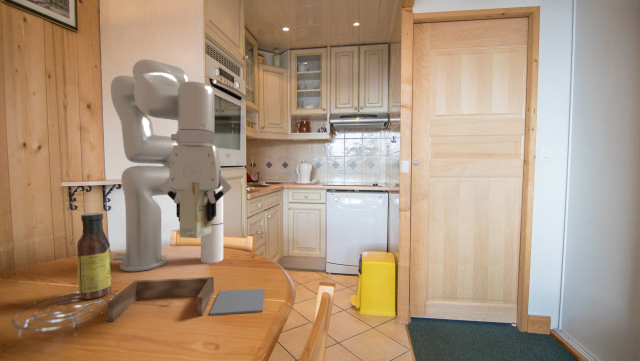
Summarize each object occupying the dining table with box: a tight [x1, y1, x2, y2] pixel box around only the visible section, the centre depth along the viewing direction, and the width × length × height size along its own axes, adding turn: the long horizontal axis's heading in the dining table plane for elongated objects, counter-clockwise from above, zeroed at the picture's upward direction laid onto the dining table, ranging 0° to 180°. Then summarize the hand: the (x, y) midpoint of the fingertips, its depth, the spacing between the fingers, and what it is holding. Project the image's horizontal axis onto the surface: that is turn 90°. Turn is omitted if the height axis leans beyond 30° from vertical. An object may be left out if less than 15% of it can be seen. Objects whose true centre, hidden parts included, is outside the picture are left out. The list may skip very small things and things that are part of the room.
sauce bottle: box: [76, 212, 113, 300], centre depth 67 cm, size 7×6×20 cm
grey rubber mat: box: [209, 288, 265, 316], centre depth 65 cm, size 11×11×1 cm
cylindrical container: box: [200, 185, 224, 264], centre depth 94 cm, size 7×7×25 cm
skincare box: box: [179, 182, 212, 239], centre depth 62 cm, size 6×4×12 cm
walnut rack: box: [106, 276, 215, 323], centre depth 62 cm, size 18×11×4 cm, turn 99°
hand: (196, 219), depth 63 cm, fingers closed on skincare box, 5 cm apart
